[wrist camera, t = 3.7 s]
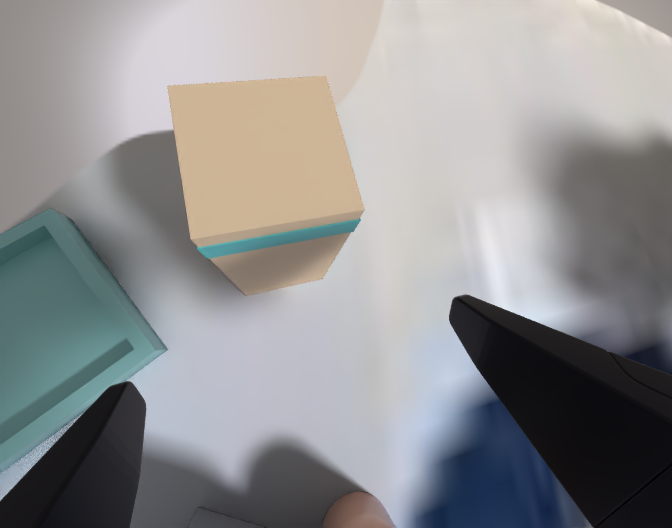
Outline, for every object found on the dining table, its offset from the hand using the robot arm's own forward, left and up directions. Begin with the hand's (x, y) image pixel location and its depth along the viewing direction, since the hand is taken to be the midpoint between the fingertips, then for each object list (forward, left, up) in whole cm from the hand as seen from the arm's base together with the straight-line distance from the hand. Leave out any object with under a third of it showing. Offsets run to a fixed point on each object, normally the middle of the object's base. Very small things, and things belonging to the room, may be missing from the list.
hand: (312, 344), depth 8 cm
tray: (+15, +5, -12) cm, 20 cm away
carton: (+4, -6, -12) cm, 14 cm away
